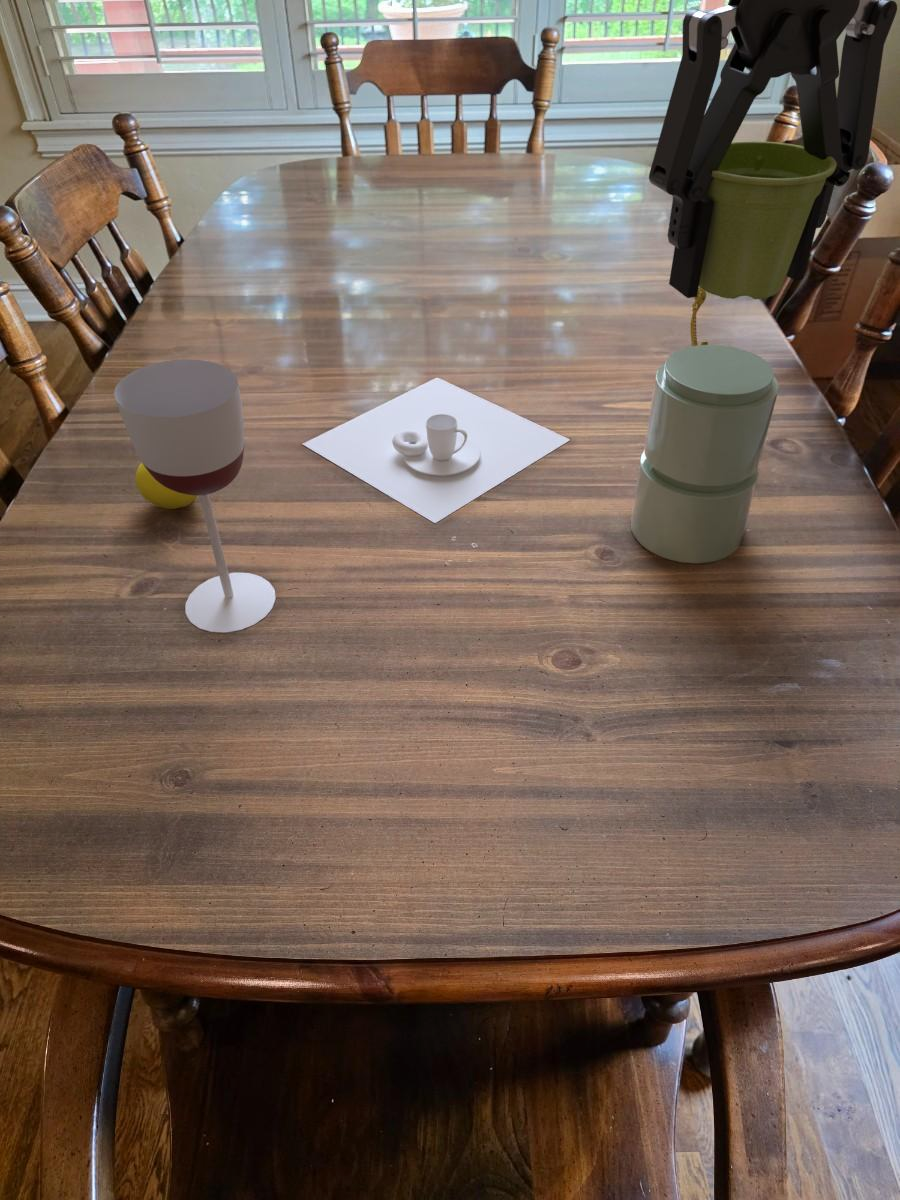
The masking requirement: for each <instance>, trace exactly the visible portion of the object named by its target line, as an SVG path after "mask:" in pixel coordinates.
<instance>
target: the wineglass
mask: <svg viewBox="0 0 900 1200" xmlns="http://www.w3.org/2000/svg"><path fill="white" fill-rule="evenodd" d="M113 394H114V399H115V403H116V405H117V408H118V411H119V414H120V416H121V419H122V422H123V424H124V427H125V429H126V431H127V435H128V437H129V439H130V441H131V444H132V446H133V448H134V450H135V452H136V454H137V456H138V458H139V460H140V461H141V463H143V465H144V466H145V468H146V469H147V470H148V472H149V473H150V474H151V475H152V476H153V477H154V479H155V480H157V481H158V482H159V483H160V484H162V485H163V486H165V487H167V488H169V489H171V490H173V491H176V492H179V493H183V494H188V495H198V498H199V502H200V505H201V510H202V514H203V517H204V518H203V519H204V521H205V525H206V529H207V533H208V537H209V541H210V545H211V549H212V553H213V556H214V557H213V558H214V560H215V563H216V569H217V572H218V575H217V576H214V577H211V578H209V579H206V581H204V582H202V583H201V584H199V585H197V586H196V587H195V588H194V589H193V591H191V593H189V595H188V598H187V600H186V602H185V604H184V605H185V615H186V617H187V619H188V621H189V622H190V623H191V624H193V626H195V627H197V628H198V629H201V630H203V631H207V632H210V633H231V632H236V631H237V632H238V631H241V630H244V629H246V628H249V627H252V626H254V625H256V624H258V623H259V622H260V621H262V620H263V619H264V618H266V617H267V616H268V614H269V613H270V612H271V611H272V609H273V608H274V604H275V602H276V599H277V598H276V591H275V588H274V586H272V584H271V582H270V581H269V580H267V579H265V578H264V577H262V576H261V575H257V574H253V573H251V572H230V573H229V570H228V566H227V562H226V558H225V553H224V549H223V546H222V542H221V538H220V537H221V536H220V533H219V529H218V526H217V521H216V517H215V512H214V509H213V506H212V501H211V497H210V494H214V493H217V492H219V491H220V490H223V489H224V488H226V487H228V486H230V484H231V483H232V482H233V481H234V480H235V479H236V477H237V476H238V474H239V473H240V470H241V468H242V465H243V460H244V453H245V425H244V412H243V404H242V396H241V391H240V384H239V380H238V377H237V375H236V374H235V372H233V371H232V370H231V369H230V368H228V367H227V366H225V365H222V364H220V363H217V362H213V361H209V360H202V359H193V358H192V359H191V358H190V359H189V358H187V359H186V358H185V359H184V358H183V359H170V360H163V361H159V362H155V363H151V364H147V365H145V366H142V367H139V368H137V369H135V370H133V371H131V372H130V373H127V374H126V375H125V376H123V378H121V379H120V380H119V382H118V383H117V384H116V386H115V388H114V392H113Z"/></svg>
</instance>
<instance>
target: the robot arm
mask: <svg viewBox="0 0 900 1200" xmlns="http://www.w3.org/2000/svg"><path fill="white" fill-rule="evenodd" d="M897 11H898V4H897V2H896V1H895V0H729V1H728V2H727V5H726V6H725V5H724V6H721V7H718V8H714V9H712V10H709V11H708V10H707V11H703V10H699V9H690V10H688V11H687V13H686V14H685V15H684V17H683V21H682V48H681V49H682V51H681V52H682V53H681V54H682V55H681V59H680V62H679V66H678V69H677V72H676V75H675V76H676V77H675V81H674V83H673V87H672V91H671V95H670V98H669V102H668V105H667V109H666V112H665V115H664V120H663V124H662V127H661V131H660V134H659V138H658V141H657V144H656V148H655V151H654V157H653V160H652V162H651V167H650V169H649V173H648V180H649V182H650V183H651V184H652V185H654V186H655V187H656V188H658V189H660V190H661V191H663V192H665V193H666V194H668V195H671V196H672V203H671V209H670V216H669V222H668V230H667V240H668V243H669V244H670V245H672V246H674V250H673V256H672V263H671V269H670V275H669V282H668V285H670V286H671V288H674V290H676V291H677V292H679V293H680V294H681V295H683V296H684V297H685V298H687V299H691V298H694V297H697V294H698V288H699V282H700V277H701V271H702V266H703V260H704V255H705V249H706V243H707V238H708V232H709V227H710V221H711V216H712V210H713V204H714V201H712V200H710V199H709V198H707V197H705V196H704V195H705V193H706V191H707V189H708V187H709V185H710V183H711V181H712V179H713V177H712V171H717V170H718V168H719V166H720V164H721V162H722V160H723V158H724V156H725V154H726V152H727V151H728V149H729V147H730V145H731V143H732V142H734V139H735V137H736V135H737V133H738V131H739V130H740V127H741V126H742V124H743V122H744V120H745V118H746V116H747V114H748V112H749V111H750V108H751V107H752V105H753V103H754V101H755V99H756V97H758V96H760V95H761V94H763V93H764V91H765V90H766V88H767V86H768V85H769V82H770V81H771V79H773V78H774V79H775V78H780V77H782V76H785V75H786V74H789V73H790V75H791V78H792V79H793V80H794V82H795V87H796V94H797V103H798V110H799V119H800V120H799V121H800V126H801V134H802V142H803V143H802V144H803V147H804V150H805V151H806V152H807V153H809V154H810V155H813V156H816V157H818V158H820V159H821V160H824V159H826V158H827V157H829V156H831V157H833V158H834V160H835V161H836V163H837V165H836V168H835V171H834V173H833V174H832V175H830V176H829V177H827V178H826V181H825V183H824V186H823V188H822V190H821V193H820V194H819V195H818V196H817V197H816V198H815V201H814V203H813V206H812V208H811V211H810V214H809V216H808V219H807V222H806V224H805V227H804V229H803V232H802V235H801V237H800V240H799V243H798V245H797V248H796V251H795V253H794V256H793V258H792V261H791V264H790V267H789V269H788V272H787V275H786V277H788V278H789V279H790V280H793V281H794V282H795V281H800V280H804V277H805V274H806V270H807V266H808V262H809V258H810V255H811V252H812V251H811V250H812V248H813V242H814V239H815V235H816V232H817V229H820V228H822V227H823V226H824V223H825V221H826V218H827V215H828V210H829V207H830V203H831V199H832V196H833V192H834V189H835V186H836V187H843V186H844V185H845V184H847V183H848V181H849V180H850V177H851V172H850V171H851V170H854V171H859V170H861V169H863V168H864V167H865V165H866V164H867V162H868V159H869V153H870V146H871V138H872V132H873V125H874V118H875V111H876V104H877V98H878V97H877V96H878V90H879V83H880V76H881V69H882V61H883V55H884V47H885V44H886V41H887V39H888V36H889V33H890V31H891V28H892V25H893V23H894V20H895V18H896V15H897ZM844 31H845V35H844V40H843V44H842V50H841V58H840V66H839V53H838V43H837V42H838V41H837V40H838V39H839V37H840V36H841V35H842V33H843V32H844ZM730 33H731V36H732V39H733V41H734V44H733V46H732V48H731V51H730V52H729V54H728V56H727V58H726V61H725V62H724V64H723V65H722V69H721V70H720V74H719V77H720V82H719V85H718V87H717V89H716V90H715V93H714V95H713V97H712V99H711V101H710V97H711V94H712V91H713V88H714V84H715V81H716V78H717V74H718V70H719V66H720V61H721V53H722V50H724V49H726V48H728V45H729V39H728V35H730ZM745 69H746V70H747V71H749V72H745ZM837 78H838V84H837V85H836V79H837ZM709 101H710V103H709Z"/></svg>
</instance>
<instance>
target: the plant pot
mask: <svg viewBox="0 0 900 1200" xmlns="http://www.w3.org/2000/svg"><path fill="white" fill-rule="evenodd" d="M836 165H837V163H836V161H835V160H834V158H833V157H831V156H829V157H827V158H826V159H824V160H821V159H820V158H818V157H816V156H813V155H810V154H809V153H807V152H806V151H805V150H804V145H799V144H795V143H794V144H792V143H785V142H777V141H760V140H759V141H758V140H756V141H755V140H748V141H747V140H746V141H743V140H742V141H732V143H731V145H730V147H729V149H728V151H727V152H726V154H725V156H724V158H723V160H722V162H721V164H720V166H719V168H718V170H717V171H712V177H713V179H712V181H711V183H710V185H709V187H708V189H707V191H706V193H705V195H704V196H705V197H707V198H709V199H710V200H712V201H714V204H713V210H712V216H711V221H710V227H709V232H708V238H707V243H706V249H705V255H704V260H703V266H702V271H701V277H700V282H699V287H700V288H701V289H703V290H705V292H706V293H708V294H711V295H714V296H717V297H720V298H722V299H731V300H735V299H737V298H740V297H749V298H751V299H752V300H762V299H767V298H770V297H773V296H775V295H776V294H778V293H779V292H780V291H781V290H782V288H783V285H784V283H785V280H786V277H787V276H786V275H787V272H788V269H789V267H790V264H791V261H792V258H793V256H794V253H795V251H796V248H797V245H798V243H799V240H800V237H801V235H802V232H803V229H804V227H805V224H806V222H807V219H808V216H809V214H810V211H811V208H812V206H813V203H814V201H815V198H816V197H817V196H818V195H819V194H820V193H821V190H822V188H823V186H824V183H825V181H826V178H827V177H829V176H830V175H832V174H833V173H834V171H835V168H836Z"/></svg>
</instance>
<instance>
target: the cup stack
mask: <svg viewBox="0 0 900 1200" xmlns="http://www.w3.org/2000/svg"><path fill="white" fill-rule="evenodd" d="M779 390H780V386H779V381H778V379H777V377H776V376H775V371H774V369H773V367H772V366H771V364H769V362H767V361H766V360H765V359H764V358H763V357H760V356H759V355H757V354H755V353H753V352H751V351H748V350H745V349H743V348H738V347H734V346H729V345H721V344H708V345H701V344H697V346H692V345H691V346H687V347H683V348H680V349H677V350H675V351H673V352H672V353H671V354H669V356H667V358H666V360H665V362H663V363H662V364H661V365H659V367H658V368H657V370H656V372H655V377H654V384H653V389H652V397H651V403H650V409H649V414H648V415H649V416H648V420H647V421H648V422H647V428H646V435H645V442H644V446H643V447H644V448H643V451H642V452H641V454H640V459H639V465H638V471H637V477H636V484H635V485H636V486H635V491H634V498H633V505H632V511H631V515H630V530H631V532H632V535H633V538H635V540H636V541H637V542H638V543H639V544H640V545H641V546H642V547H643V548H645V550H648V551H649V552H651V553H652V554H654V555H657V556H659V557H661V558H663V559H667V560H670V561H674V562H678V563H685V564H706V563H707V564H708V563H713V562H717V561H720V560H723V559H725V558H728V557H729V556H731V555H732V554H733V553H734V552H736V550H737V549H738V548H739V547H740V545H741V543H742V539H743V536H744V531H745V528H746V524H747V520H748V518H749V514H750V509H751V506H752V503H753V498H754V495H755V490H756V487H757V483H758V480H759V477H760V476H759V475H760V470H759V466H760V463H761V458H762V454H763V451H764V447H765V443H766V439H767V435H768V432H769V428H770V424H771V421H772V416H773V412H774V409H775V405H776V401H777V398H778V394H779Z"/></svg>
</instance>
